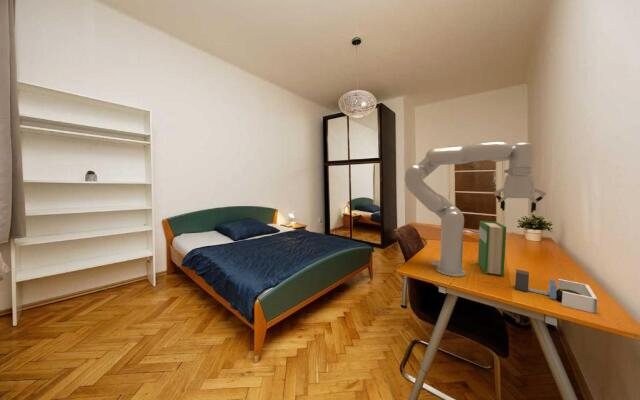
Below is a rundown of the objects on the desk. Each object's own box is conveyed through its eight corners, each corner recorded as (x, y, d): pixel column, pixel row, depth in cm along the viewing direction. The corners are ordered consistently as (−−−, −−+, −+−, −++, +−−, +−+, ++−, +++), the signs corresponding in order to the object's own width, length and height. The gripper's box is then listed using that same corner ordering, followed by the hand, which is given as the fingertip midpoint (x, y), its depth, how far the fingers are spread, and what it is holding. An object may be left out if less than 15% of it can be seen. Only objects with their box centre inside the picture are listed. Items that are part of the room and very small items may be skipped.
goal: (561, 305, 83) (562, 292, 83) (557, 290, 95) (558, 278, 95) (596, 313, 78) (597, 299, 77) (587, 297, 90) (588, 284, 89)
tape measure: (556, 301, 86) (557, 292, 86) (555, 295, 91) (556, 286, 91) (584, 308, 81) (585, 298, 81) (581, 301, 86) (582, 291, 86)
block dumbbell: (514, 290, 95) (515, 273, 94) (515, 284, 101) (516, 268, 100) (555, 299, 87) (556, 281, 86) (553, 292, 93) (555, 275, 92)
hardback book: (503, 276, 109) (506, 227, 108) (484, 274, 113) (487, 225, 111) (494, 265, 125) (496, 221, 124) (477, 263, 128) (479, 220, 127)
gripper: (493, 172, 103) (491, 210, 104) (548, 170, 91) (545, 213, 92) (495, 173, 108) (493, 209, 109) (547, 171, 97) (544, 212, 98)
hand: (517, 211), depth 101 cm, fingers open, 9 cm apart
